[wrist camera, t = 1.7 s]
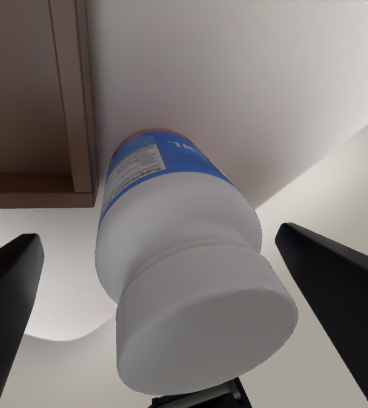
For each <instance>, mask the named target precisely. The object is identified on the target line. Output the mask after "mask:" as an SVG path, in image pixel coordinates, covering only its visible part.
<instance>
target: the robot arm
mask: <svg viewBox="0 0 368 408" xmlns="http://www.w3.org/2000/svg"><path fill="white" fill-rule="evenodd" d="M275 243H276V245H277V248H278V249H279V252H280V254H281V256H282V258H283V260H284V262H285V264H286V266H287V268H288V270H289V272H290V274H291V276H292V277H293V279H294V280H295V282H296V284H297V286H298V287H299V289H300V291H301V292H302V294H303V295H304V297H305V299H306V300H307V302H308V304H309V305H310V307H311V309H312V310H313V312H314V313H315V315H316V317H317V318H318V320H319V322H320V323H321V325H322V327H323V328H324V330H325V331H326V333H327V335H328V336H329V338H330V340H331V341H332V343H333V345H334V346H335V348H336V349H337V351H338V353H339V354H340V356H341V358H342V359H343V361H344V362H345V364H346V366H347V367H348V369H349V371H350V372H351V374H352V375H353V377H354V379H355V381H356V382H357V384H358V386H359V387H360V389H361V390H362V392H363V393H364V395H365V397H367V398H366V399H367V401H368V256H367V255H365V254H363V253H360V252H358V251H355V250H353V249H351V248H349V247H347V246H344V245H342V244H340V243H337V242H335V241H333V240H331V239H328V238H326V237H324V236H322V235H319V234H317V233H314V232H312V231H310V230H308V229H306V228H303V227H301V226H299V225H296V224H294V223H283V224H282V225H281V226H280V228H279V230H278V233H277V235H276V237H275ZM43 262H44V251H43V247H42V243H41V239H40V236H39V235H38V234H36V233H32V234H22V235H20V236H18V237H17V238H15V239H14V240H12V241H10V242H9V243H7V244H6V245H4V246H3V247H1V248H0V397H1V395H2V392H3V389H4V386H5V383H6V381H7V378H8V375H9V372H10V369H11V367H12V364H13V361H14V359H15V356H16V353H17V350H18V347H19V345H20V342H21V339H22V336H23V334H24V331H25V328H26V325H27V323H28V320H29V317H30V314H31V311H32V308H33V305H34V301H35V297H36V293H37V288H38V284H39V280H40V275H41V271H42V267H43ZM148 408H252V406H251V404H250V402H249V399H248V397H247V395H246V393H245V390H244V388H243V386H242V384H241V382H240V379H239V377H236V378H234V379H232V380H229V381H227V382H225V383H222V384H220V385H217V386H214V387H211V388H207V389H204V390H200V391H197V392H191V393H185V394H176V395H165V396H163V397H159V398H158V397H156V398H153V399H152V405H150V406H149V407H148Z"/></svg>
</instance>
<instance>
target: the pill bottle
mask: <svg viewBox="0 0 368 408" xmlns="http://www.w3.org/2000/svg"><path fill="white" fill-rule="evenodd" d="M261 244H262V230H261V225H260V222H259V219H258V216H257V214H256V212H255V210H254V209H253V207H252V205H251V204H250V203H249V202H248V201H247V199H246V198H245V197H244V196H243V195H242V194H241V193H240V192H239V191H238V190H237V189H236V187H235V186H234V185H233V184H232V183H231V182H230V181H229V180H228V179H227V178H226V177H225V176H224V175H223V174H222V173H221V172H220V171H219V170H218V169H217V168H216V167H215V166H214V165H213V164H212V163H211V162H210V161H209V160H208V159H207V158H206V157H205V156H204V155H203V154H202V153H201V151H200V150H199V149H198V148H197V147H196V146H195V145H194V144H193V143H192V142H191V141H190V140H188V139H187V138H185V137H184V136H182V135H181V134H179V133H176V132H174V131H171V130H167V129H149V130H144V131H141V132H138V133H136V134H134V135H132V136H130V137H129V138H127V139H126V140H125V141H124V142H123V143H122V144H121V145H120V146H119V147H118V148H117V150H116V151H115V153H114V154H113V156H112V158H111V161H110V164H109V168H108V173H107V179H106V185H105V191H104V197H103V202H102V209H101V215H100V220H99V226H98V233H97V240H96V249H95V265H96V271H97V274H98V277H99V280H100V282H101V284H102V286H103V288H104V290H105V291H106V292H107V294H108V295H109V296H110V298H111V299H112V300H113V301H115V302H116V303H117V304H118V307H117V312H116V323H117V325H116V334H117V335H116V339H117V340H116V343H117V344H116V346H117V370H118V374H119V377H120V378H121V380H122V381H123V383H124V384H125V385H127V386H128V387H129V388H131V389H132V390H135V391H137V392H141V393H144V394H148V395H176V394H185V393H191V392H197V391H200V390H204V389H207V388H211V387H214V386H217V385H220V384H222V383H225V382H227V381H229V380H232V379H234V378H236V377H238V376H240V375H242V374H244V373H246V372H248V371H250V370H251V369H253V368H255V367H256V366H258V365H259V364H261V363H263V362H264V361H265V360H267V359H268V358H269V357H271V355H273V354H274V353H275V352H276V351H277V350H278V349H280V348H281V347H282V345H284V343H285V342H286V341H287V340H288V339H289V337H290V335H291V334H292V333H293V331H294V329H295V327H296V324H297V320H298V309H297V306H296V304H295V302H294V300H293V298H292V297H291V295H290V294H289V292H288V291H287V289H286V288H285V287H284V285H283V284H282V282H281V281H280V280H279V278H278V277H277V275H276V274H275V272H274V271H273V269H272V267H271V265H270V263H269V262H268V261H267V260H266V259H265V258H264V257H263V256H262V255H261V254H260V251H261Z"/></svg>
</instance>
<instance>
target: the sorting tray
mask: <svg viewBox="0 0 368 408" xmlns="http://www.w3.org/2000/svg"><path fill="white" fill-rule="evenodd" d="M98 187H99V176H98V162H97V148H96V134H95V120H94V106H93V92H92V78H91V64H90V50H89V36H88V22H87V8H86V0H0V209H16V208H89V207H94V206H95V202H96V197H97V192H98Z"/></svg>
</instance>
